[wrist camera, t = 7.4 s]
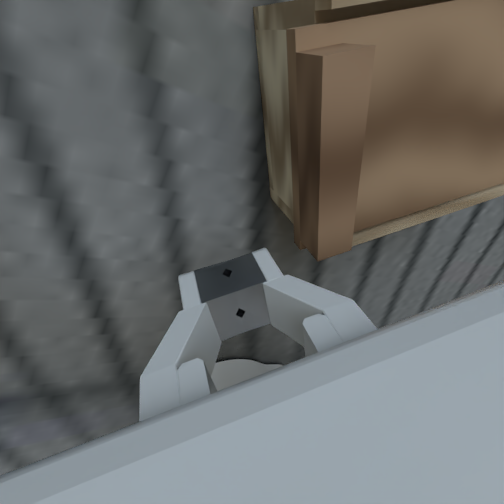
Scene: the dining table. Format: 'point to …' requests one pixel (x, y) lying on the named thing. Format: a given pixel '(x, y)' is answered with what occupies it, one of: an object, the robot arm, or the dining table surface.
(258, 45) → the crate
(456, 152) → the lid
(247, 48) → the dining table surface
